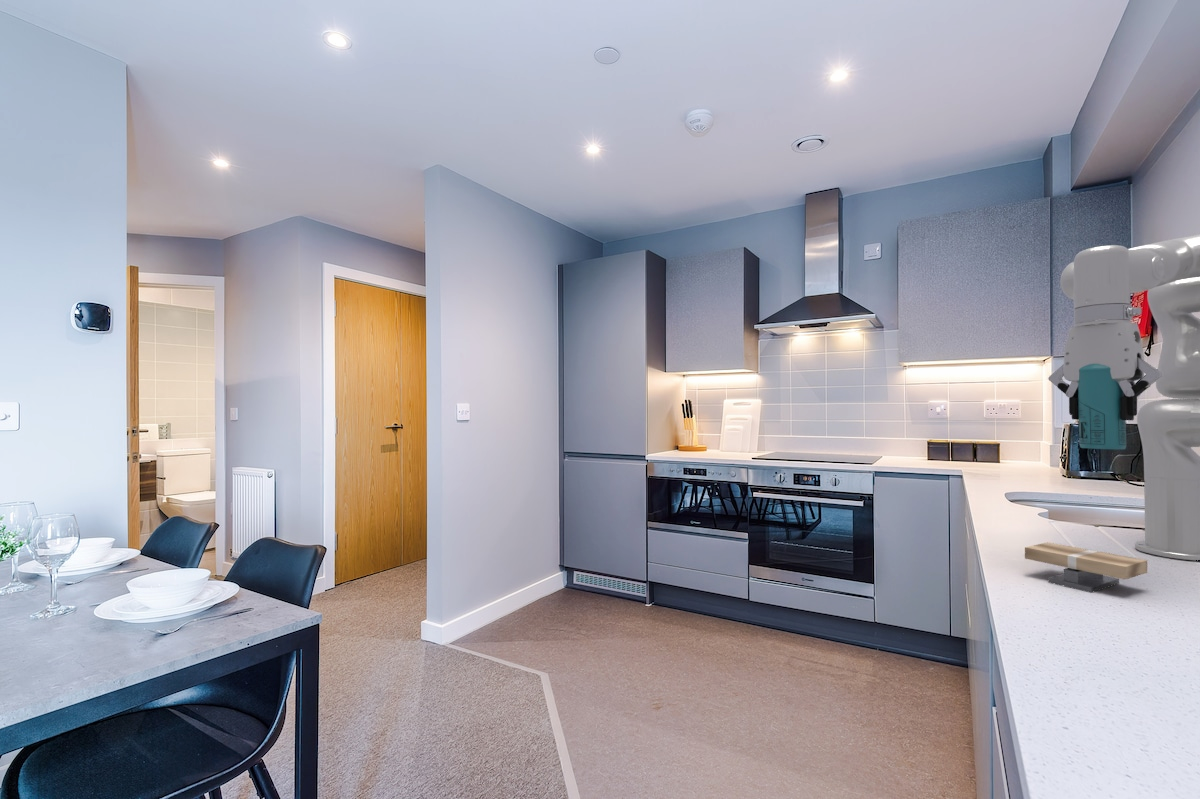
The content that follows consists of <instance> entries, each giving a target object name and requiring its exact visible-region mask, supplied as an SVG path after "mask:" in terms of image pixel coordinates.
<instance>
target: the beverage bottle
mask: <svg viewBox="0 0 1200 799" xmlns="http://www.w3.org/2000/svg"><path fill="white" fill-rule="evenodd" d="M1110 370H1111V368H1110V367H1108V366H1105V365H1102V364H1089V365H1086V366H1084V367H1082V368H1080V369H1079V381H1078V398H1077V399H1078V407H1077V408H1078V412H1079V414H1077V415H1079V420H1078V421H1077V438H1078V444H1079V447H1080V448H1081V449H1093V450H1095V449H1097V450H1126V448H1127V445H1128V440H1127V436H1128V429H1127V420H1122V419H1121V397H1124V392H1123V390H1122V388H1121V387H1120V385H1119V383H1118V381H1116V380H1114V379H1112V377H1111V372H1110Z"/></svg>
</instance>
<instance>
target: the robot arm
mask: <svg viewBox="0 0 1200 799" xmlns="http://www.w3.org/2000/svg"><path fill="white" fill-rule="evenodd" d="M1060 275H1061V276H1060V283H1059V284H1060V289H1061V291H1062V293H1063V294H1064V295H1065V296H1066V297H1067V298H1069V299H1071V300H1073V327H1070V328H1069V329H1068V333H1067V337H1066V341H1065V348H1064V356H1063V364H1062V365H1061V366H1060V367H1059V368H1057V369H1056V370H1055V371H1054V372H1053V373H1052V374H1050V375H1049V377H1048V378H1047V379H1048V381H1049V382H1050V383H1052V384H1053V385H1054V386H1055V387H1057V389H1058V390H1060V391H1061V392H1062V393H1064V395H1065V396H1066V397H1067V398H1068V409H1069V410H1068V411H1069V412H1068V414H1069V415H1070V416H1071V419H1072V420H1078V421H1079V415H1077V414H1079V412H1078V408H1077V407H1078V399H1077V398H1078V381H1079V369H1080V368H1082V367H1084V366H1086V365H1089V364H1102V365H1105V366H1108V367H1110V368H1111V370H1110V372H1111V377H1112V379H1114V380H1116V381H1118V383H1119V385H1120V387H1121V388H1122V390H1123V392H1124V397H1121V419H1122V420H1126V421H1134V419H1135V416H1136V422H1137V423H1136V424H1137V428H1138V432H1139V437H1140V442H1141V446H1142V454H1143V455H1142V456H1143V478H1144V479H1143V483H1144V484H1143V486H1144V487H1143V488H1144V540H1140V541H1136V542H1135V543H1134V548H1135V549H1136V550H1137V551H1140V552H1143V553H1146V554H1150V555H1154V556H1158V557H1165V558H1171V559H1175V560H1177V559H1178V560H1185V561H1187V560H1188V561H1195V562H1196V560H1197V562H1199V561H1198V560H1200V455H1199V454H1198V453H1197V452H1196V451H1195V450H1194V449H1193V448H1200V318H1199V317H1197V316H1195V314H1193V313H1200V233H1199V234H1193V235H1189V236H1183V237H1178V238H1173V239H1167V240H1161V241H1157V242H1153V243H1148V244H1143V245H1139V246H1135V247H1132V248H1127V247H1126V246H1124V245H1120V244H1119V245H1117V244H1114V245H1113V244H1110V245H1101V246H1100V245H1099V246H1095V247H1089V248H1087V249H1083V250H1081V251H1079V252H1078V253H1077V254H1076V255H1075V256H1074V259H1073V261H1072V262H1070V263H1069V264H1067V266H1066V267H1065V268H1064V269H1063V270H1062V272H1061V274H1060ZM1146 291H1147V293H1146V294H1147V296H1146V297H1147V303H1148V306H1149V310H1150V312H1151V314H1152V317H1153V319H1154V321H1155V323H1156V326H1157V327H1158V329H1159V331H1160V334H1161V336H1162V344H1161V351H1160V353H1159V354H1160V355H1159V361H1158V364H1157V368H1156V367H1154V366H1153V365H1151V364H1149V363H1148V362H1146V361H1145V358H1144V357H1145V356H1144V349H1143V342H1142V337H1141V332H1140V329H1139V325H1138V323H1136V322H1132V321H1133V318H1134V317H1135V316H1140V315H1141V314H1142V307H1141V306H1137V307H1135V306H1133V305H1131V294H1134V293H1140V292H1141V293H1142V292H1146ZM1063 378H1064V379H1065V380H1066V381H1069V382H1070V384H1069V383H1067V382H1066V381H1065V380H1063ZM1135 381H1138V382H1137V383H1136V382H1135ZM1154 383H1155V388H1156V389H1157V392H1158V393H1159V394H1161V395H1162V396H1163V397H1166V399H1158V400H1153V401H1150V402H1148V403H1146V404H1145V403H1144V405H1142V406H1141V407H1140V408H1139V410H1138V397H1140V396H1141V394H1142V393H1144V392H1145V391H1146V390H1147V389H1149V388H1150V387H1151V386H1152V385H1153V384H1154ZM1167 398H1168V399H1167Z"/></svg>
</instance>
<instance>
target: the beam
mask: <svg viewBox="0 0 1200 799" xmlns="http://www.w3.org/2000/svg"><path fill="white" fill-rule="evenodd" d="M1024 559H1025V560H1029V561H1030V560H1031V561H1034V562H1040V563H1044V564H1050V565H1053V566H1059V567H1064V568H1071V569H1077V570H1082V571H1087V572H1092V573H1096V574H1101V575H1104V576H1109V577H1114V578H1119V580H1121V579H1122V580H1129V579H1132V578H1135V577H1138V576H1141V575H1144V574H1147V573H1148V559H1141V558H1136V557H1133V556H1127V555H1120V554H1115V553H1109V552H1105V551H1104V552H1103V551H1099V550H1093V549H1087V548H1081V547H1076V546H1070V545H1064V544H1059V543H1054V542H1049V541H1046V542H1044V543H1038V544H1035V545H1030V546H1026V547H1024Z"/></svg>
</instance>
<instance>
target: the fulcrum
mask: <svg viewBox="0 0 1200 799" xmlns="http://www.w3.org/2000/svg"><path fill="white" fill-rule="evenodd" d="M1049 582H1051V583H1050V584H1053V583H1055V585H1058V584H1059V585H1058V586H1062V585H1064V586H1063V587H1066V586H1068V588H1071V587H1073V588H1072V589H1075V588H1076V590H1079V589H1080V590H1079V591H1083V590H1085V591H1084V592H1088V591H1089V593H1094V592H1097V591H1100V590H1103V589H1106V588H1109V587H1108V586H1110V587H1112V586H1111V585H1113V586H1115V585H1114V584H1116V585H1118V584H1117V583H1119V584H1120V578H1116V577H1111V576H1106V575H1101V574H1096V573H1092V572H1087V571H1082V570H1077V569H1071V568H1068V567H1065V568H1063V573H1059V574H1057V575H1054V576H1050V577H1048V583H1049ZM1105 587H1106V588H1105ZM1102 588H1103V589H1102ZM1099 589H1100V590H1099ZM1093 591H1094V592H1093Z"/></svg>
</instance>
